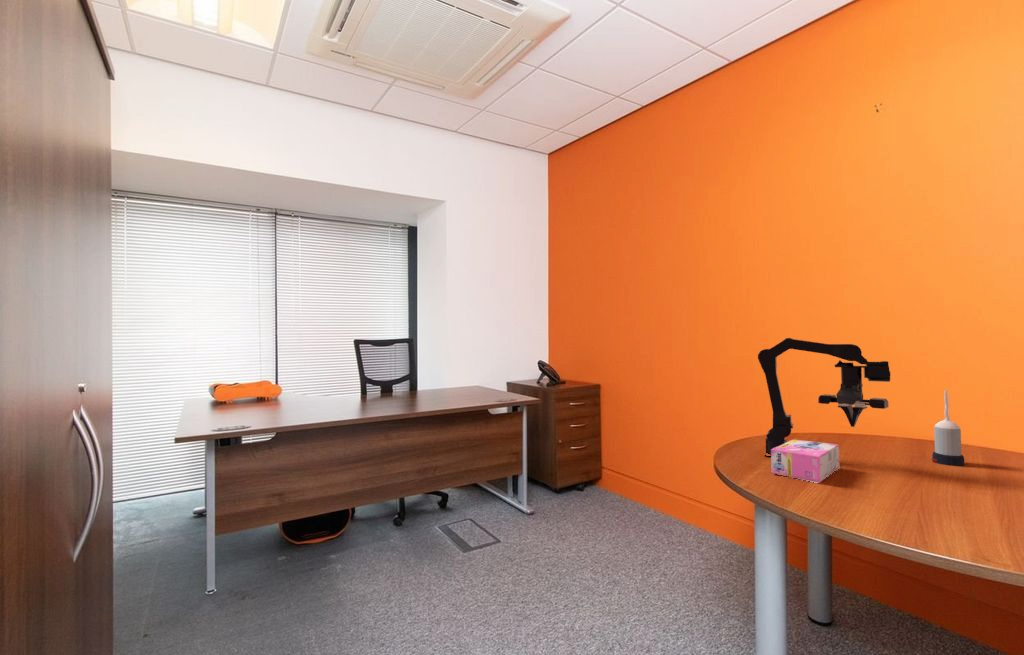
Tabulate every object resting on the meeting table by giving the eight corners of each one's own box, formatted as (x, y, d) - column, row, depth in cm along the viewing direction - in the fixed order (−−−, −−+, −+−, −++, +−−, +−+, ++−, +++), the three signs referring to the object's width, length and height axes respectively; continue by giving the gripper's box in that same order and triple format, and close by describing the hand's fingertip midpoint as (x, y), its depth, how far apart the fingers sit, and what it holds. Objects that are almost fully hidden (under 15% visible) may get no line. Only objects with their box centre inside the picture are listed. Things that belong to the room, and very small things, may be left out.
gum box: (841, 467, 156) (795, 459, 166) (840, 443, 156) (794, 437, 166) (820, 482, 139) (770, 473, 149) (819, 456, 140) (770, 448, 150)
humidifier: (927, 461, 164) (925, 389, 164) (939, 458, 167) (937, 388, 168) (957, 467, 157) (955, 392, 157) (969, 464, 160) (967, 391, 161)
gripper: (812, 380, 162) (813, 425, 162) (879, 384, 148) (880, 433, 147) (823, 378, 169) (824, 422, 169) (888, 381, 155) (889, 429, 154)
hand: (852, 426), depth 160 cm, fingers closed
